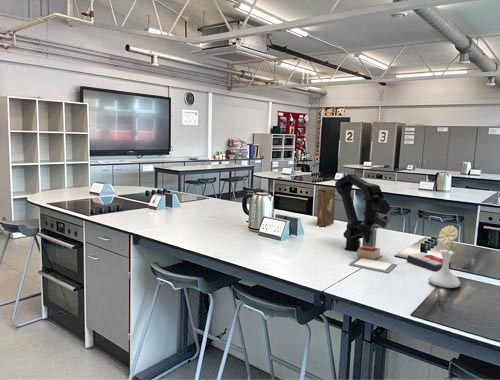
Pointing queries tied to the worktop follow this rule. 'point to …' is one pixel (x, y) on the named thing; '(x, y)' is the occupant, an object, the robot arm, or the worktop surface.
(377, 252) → the copper square tube
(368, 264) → the writing mat
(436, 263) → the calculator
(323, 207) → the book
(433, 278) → the flower in vase
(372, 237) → the grey square block
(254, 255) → the worktop surface
